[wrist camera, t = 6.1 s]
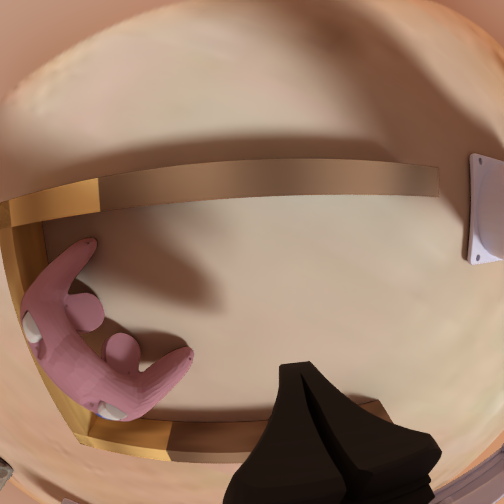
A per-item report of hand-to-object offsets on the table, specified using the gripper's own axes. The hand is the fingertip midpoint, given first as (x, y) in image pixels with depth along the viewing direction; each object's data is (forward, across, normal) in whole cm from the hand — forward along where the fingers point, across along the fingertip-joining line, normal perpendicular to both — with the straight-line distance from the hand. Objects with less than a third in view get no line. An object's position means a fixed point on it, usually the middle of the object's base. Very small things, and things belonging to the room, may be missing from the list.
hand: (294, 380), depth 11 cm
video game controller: (+5, +10, -1) cm, 11 cm away
